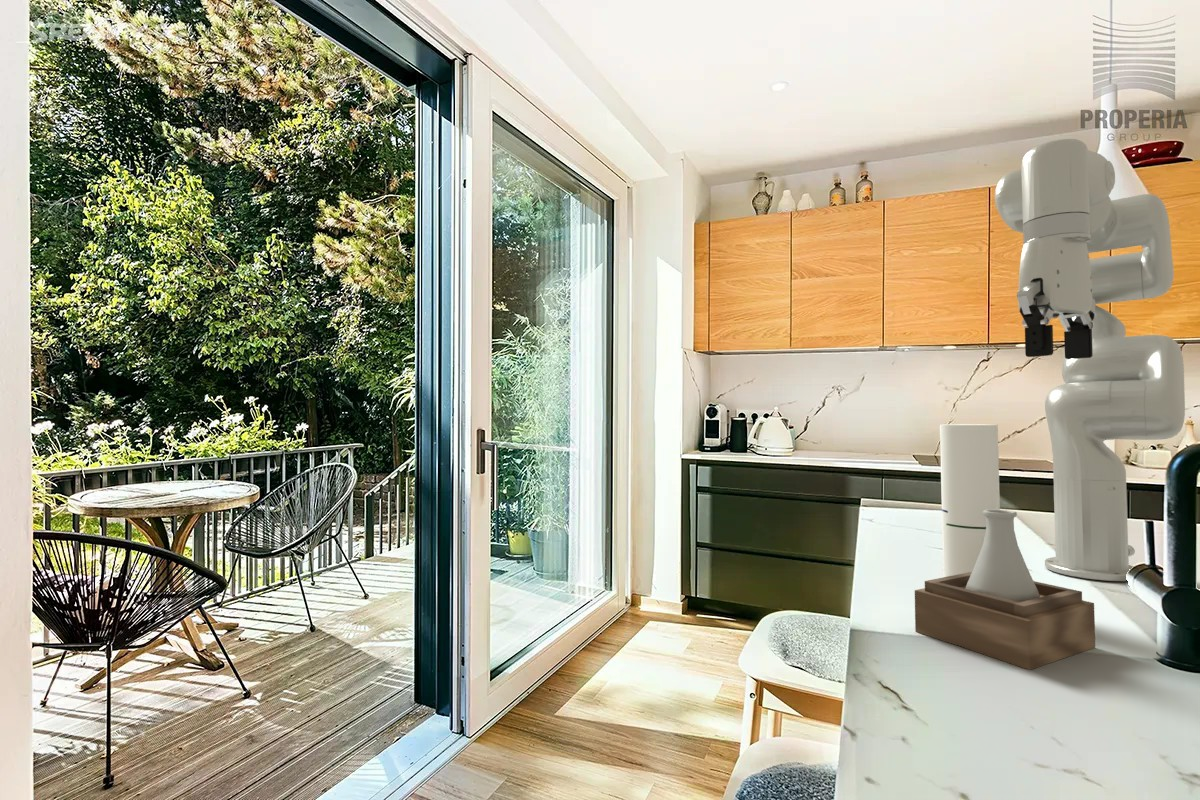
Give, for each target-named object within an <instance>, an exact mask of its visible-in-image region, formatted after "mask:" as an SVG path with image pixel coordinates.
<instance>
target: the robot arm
mask: <svg viewBox="0 0 1200 800" xmlns="http://www.w3.org/2000/svg"><path fill="white" fill-rule="evenodd" d="M1115 183H1116V173H1115V168H1114V166H1113V163H1112V162H1111V161H1110V160H1108V159H1107V158H1106V157H1105V156H1103V155H1102V154H1100V153H1098V152H1096V151H1092V150H1088V147H1087V144H1086V143H1085V142H1084V141H1082V140H1080V139H1077V138H1063V139H1056V140H1051V141H1048V142H1044V143H1042V144H1039V145H1037V146H1035V147H1033V148H1030V149H1029V150H1028V151H1026V152H1025V155H1024V156H1023V158H1022V161H1021V168H1020V169H1016V170H1013V171H1011V172H1007V173H1006V174H1005V175H1003V176H1002V177H1001V178H1000V179H999V181H998V182H997V185H996V187H995V190H994V202H995V206H996V210H997V212H998V214H999V216H1000V218H1001V219H1002V221H1003V222H1004V223H1005V224H1006V225H1007V226H1008V227H1009V228H1010V229H1011V230H1013V231H1015V232H1017V233H1021V234H1022V239H1023V242H1022V243H1023V246H1022V248H1021V249H1022V250H1021V254H1020V255H1021V256H1020V262H1019V269H1018V270H1019V273H1018V274H1019V275H1018V291H1017V293H1016V298H1017V301H1018V310H1019V313H1020V315H1021V317H1022V318H1023V319H1022V323H1021V324H1022V327H1023V328H1024V347H1025V349H1024V350H1025V351H1024V352H1025V356H1026V357H1028V358H1035V357H1047V356H1052V355H1053V354H1054V331H1053V329H1054V327H1053V324H1050V321H1051V320H1052V319H1057V318H1058V320H1059V322H1060V324H1061V326H1062V328H1063V329H1064V331H1063V337H1064V346H1063V347H1064V348H1063V349H1064V350H1063V356H1062V362H1061V363H1062V364H1061V376H1062V379H1063V382H1064V383H1063V384H1061V385H1060V384H1059V385H1057V386H1056V387H1054V388H1052V389H1051V390H1050V391H1049V392H1048V394H1047V395H1046V398H1045V401H1044V402H1045V403H1044V410H1045V416H1046V417H1045V418H1046V422H1047V426H1048V432H1049V437H1050V442H1051V452H1052V468H1053V471H1052V472H1053V503H1054V504H1053V505H1054V507H1053V508H1054V512H1053V513H1054V541H1055V542H1054V545H1055V548H1054V549H1055V552H1054V553H1055V556H1053V557H1048V558H1045V560H1044V567H1045V568H1046V569H1047V570H1050V571H1052V572H1054V573H1058V574H1060V575H1065V576H1070V577H1073V578H1081V579H1088V580H1096V581H1097V580H1098V581H1106V582H1107V581H1108V582H1127V581H1126V574H1127V572H1128V571H1129V569H1131V568H1132V567H1135V566H1133V565H1131V564H1129V559H1130V558H1129V557H1132V556H1134V554H1135V552H1136V550H1135V548H1134V547H1133V546H1132V545H1130V544H1129V532H1128V531H1129V530H1128V529H1129V527H1128V499H1127V496H1128V495H1127V471H1126V470H1127V469H1126V468H1125V464H1124V462H1123V461H1122V459H1121V458H1120V457H1119V455H1117V454H1116V453H1115V452H1114V451H1113V450H1112V449H1111V448H1110V447H1108V446H1107V445H1106V444H1105V442H1104V441H1109V440H1110V441H1112V440H1113V441H1114V440H1133V441H1135V440H1137V441H1138V440H1139V441H1148V440H1149V441H1151V440H1152V441H1153V440H1155V441H1156V440H1160V441H1161V440H1167V439H1171V438H1174V437H1176V436H1177V435H1178V434H1179V433H1180V432H1181V431H1182V429H1183V426H1184V422H1185V418H1186V417H1185V415H1186V412H1185V410H1186V404H1185V403H1186V401H1185V397H1186V396H1185V369H1184V368H1185V365H1184V356H1183V352H1182V349H1181V347H1180V345H1179V344H1178V342H1177V341H1176V340H1175V339H1173V338H1172V337H1170V336H1167V335H1163V334H1162V335H1161V334H1147V335H1146V334H1145V335H1143V334H1142V335H1131V336H1129V335H1128V336H1126V326H1125V324H1124V323H1123V322H1122V321H1121V320H1120V319H1119V318H1118V317H1117V316H1116V315H1114V314H1113V313H1112V312H1110V311H1108V310H1106V309H1105V308H1103V307H1100V306H1098V305H1099V304H1100V305H1101V304H1109V303H1110V304H1111V303H1118V302H1119V303H1120V302H1127V301H1128V302H1129V301H1137V300H1149V299H1154V298H1158V297H1161V296H1163V295H1165V294H1167V293H1168V292H1169V291H1170V289H1171V287H1172V285H1173V283H1174V275H1175V274H1174V261H1173V251H1172V237H1171V226H1170V219H1169V214H1168V211H1167V207H1166V205H1165V203H1164V201H1163V200H1162V198H1160V197H1159V196H1158V195H1155V194H1153V193H1146V194H1145V193H1143V194H1138V195H1134V196H1129V197H1128V196H1127V197H1122V198H1118V199H1111V197H1110V195H1111V192H1112V190H1113V189H1114V187H1115ZM1139 246H1141V247H1142V251H1136V252H1131V253H1130V252H1129V253H1123V254H1116V255H1110V256H1103V257H1096V258H1090V255H1089V254H1092V253H1099V252H1100V253H1101V252H1107V251H1112V250H1118V249H1119V250H1120V249H1126V248H1132V247H1139Z"/></svg>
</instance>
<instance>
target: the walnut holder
mask: <svg viewBox="0 0 1200 800" xmlns="http://www.w3.org/2000/svg"><path fill="white" fill-rule="evenodd" d="M971 573H972V572H968V573H963V574H958V575H953V576H948V577H938V578H932V579H929V580H924V588H919V589H914V617H915V618H914V619H915V622H914V624H915V625H914V626H915V627H914V629H915V632H916V633H919V634H922V635H925V636H927V637H931V638H934V639H937V640H939V639H940V641H942V640H943V642H945V641H946V642H945V643H948V642H949V643H948V644H951V643H953V644H952V645H954V644H955V646H957V645H959V646H958V647H960V646H962V647H961V648H963V647H965V648H964V649H966V648H967V649H966V650H969V649H970V650H969V651H972V650H973V651H972V652H976V653H978V654H981V655H984V656H987V657H990V658H993V659H997V660H1000V661H1002V662H1005V663H1008V664H1011V665H1014V666H1017V667H1020V668H1023V669H1025V670H1029V671H1030V670H1032V669H1033V670H1034V669H1036V668H1039V667H1041V666H1045V665H1048V664H1050V663H1054V662H1056V661H1059V660H1062V659H1065V658H1068V657H1071V656H1074V655H1077V654H1080V653H1083V652H1086V651H1089V650H1093V649H1096V628H1095V627H1096V625H1095V624H1096V623H1095V620H1096V619H1095V602H1091V601H1087V600H1083V591H1081V590H1076V589H1073V588H1072V589H1071V588H1067V587H1062V586H1058V585H1055V584H1054V585H1053V584H1049V583H1044V582H1041V581H1035V580H1033V581H1034V583H1035V586H1036V588H1037V590H1038V592H1039V595H1040V598H1035V599H1031V600H1027V601H1023V602H1016V601H1012V600H1008V599H1004V598H1000V597H996V596H992V595H988V594H984V593H980V592H976V591H972V590H968V589H965V588H966V585H967V583H968V580H969V578H970V576H971Z"/></svg>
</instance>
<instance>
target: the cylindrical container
mask: <svg viewBox="0 0 1200 800" xmlns="http://www.w3.org/2000/svg"><path fill="white" fill-rule="evenodd" d="M939 441H940V442H939V443H940V444H939V445H940V446H939V449H940V485H941V487H940V488H941V489H940V490H941V491H940V492H941V495H940V496H941V497H940V498H941V530H942V531H941V534H942V535H941V536H942V537H941V538H942V572H943V574H942V576H943V577H948V576H953V575H958V574H963V573H968V572H972V571H973V569H974V566H975V564H976V561H977V559H978V556H979V554H980V551H981V548H982V546H983V543H984V538H985V532H986V516H984V514H983V511H984V510H989V509H999V510H1001V500H1000V499H1001V497H1000V496H1001V495H1000V466H999V465H1000V464H999V459H1000V458H999V456H1000V455H999V424H995V423H994V424H993V423H987V424H986V423H983V424H982V423H979V424H977V423H972V424H971V423H970V424H969V423H960V424H959V423H956V424H955V423H952V424H951V423H950V424H949V423H947V424H945V423H944V424H943V423H942V424H939ZM943 577H942V578H943Z"/></svg>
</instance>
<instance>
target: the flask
mask: <svg viewBox="0 0 1200 800" xmlns="http://www.w3.org/2000/svg"><path fill="white" fill-rule="evenodd" d="M983 514H984V516H986V532H985V538H984V543H983V546H982V548H981V551H980V554H979V556H978V559H977V561H976V564H975V566H974V569H973V571H972V573H971V576H970V578H969V580H968V583H967V585H966V588H965V589H968V590H972V591H976V592H980V593H984V594H988V595H992V596H996V597H1000V598H1004V599H1008V600H1012V601H1016V602H1023V601H1027V600H1031V599H1035V598H1040V595H1039V592H1038V590H1037V588H1036V586H1035V583H1034V581H1035V580H1034V579H1033V578H1032V575H1031V573H1030V571H1029V568H1028V566H1027V563H1026V562H1025V559H1024V557H1023V554H1022V552H1021V549H1020V547H1019V545H1018V540H1017V537H1016V533H1015V522H1014V521H1015V518H1016V517H1017V514H1018V513H1017V511H1012V510H1007V509H1000V510H999V509H989V510H984V511H983Z"/></svg>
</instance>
